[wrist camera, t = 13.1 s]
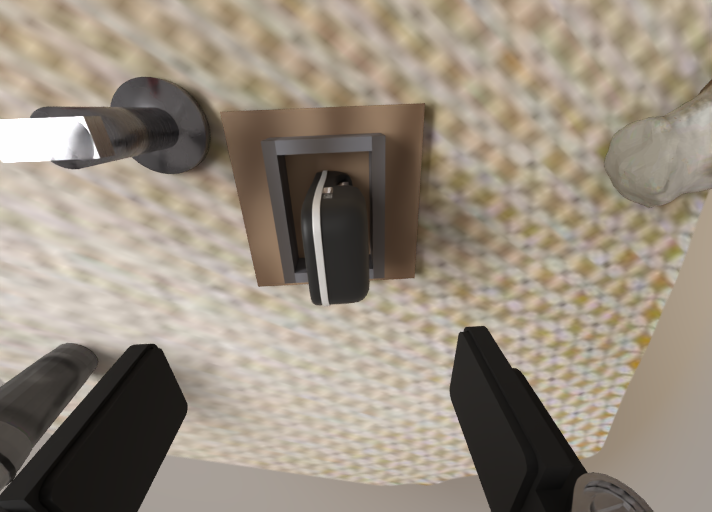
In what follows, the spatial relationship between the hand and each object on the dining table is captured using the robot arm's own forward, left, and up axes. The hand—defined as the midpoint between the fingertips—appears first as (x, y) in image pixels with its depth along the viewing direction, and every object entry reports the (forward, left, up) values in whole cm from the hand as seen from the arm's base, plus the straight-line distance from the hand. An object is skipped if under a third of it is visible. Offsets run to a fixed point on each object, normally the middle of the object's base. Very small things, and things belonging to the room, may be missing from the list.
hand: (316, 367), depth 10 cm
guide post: (+13, -7, -20) cm, 25 cm away
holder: (0, 0, -20) cm, 20 cm away
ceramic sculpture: (-30, -4, -20) cm, 36 cm away
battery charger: (-1, 0, -19) cm, 19 cm away
